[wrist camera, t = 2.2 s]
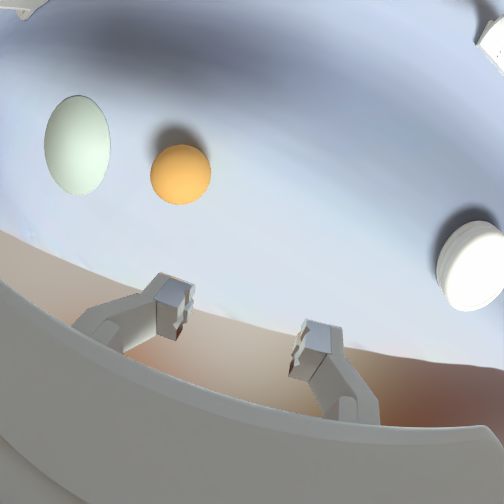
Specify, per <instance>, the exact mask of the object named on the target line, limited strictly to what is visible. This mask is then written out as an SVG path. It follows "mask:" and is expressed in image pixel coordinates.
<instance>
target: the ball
mask: <svg viewBox="0 0 504 504" xmlns="http://www.w3.org/2000/svg"><path fill="white" fill-rule="evenodd" d="M210 178H211V168H210V164H209V162H208V160H207V158H206V156H205V155H204V154H203V153H202V152H201V151H200V150H198V149H197V148H195V147H193V146H190V145H185V144H179V145H173V146H170V147H168V148H166V149H165V150H163V151H162V152H161V153H160V154H159V155H158V156H157V157H156V159H155V160H154V162H153V164H152V167H151V172H150V179H151V184H152V187H153V189H154V191H155V192H156V194H157V195H158V196H159V197H160V198H161V199H163V200H164V201H166V202H168V203H171V204H176V205H183V204H188V203H191V202H193V201H195V200H197V199H198V198H199V197H201V196H202V195H203V193H204V192H205V191H206V189H207V187H208V185H209V183H210Z"/></svg>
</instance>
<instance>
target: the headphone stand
mask: <svg viewBox="0 0 504 504" xmlns="http://www.w3.org/2000/svg"><path fill="white" fill-rule="evenodd" d="M476 46H477V48H478V49H479V50H480V51H481V52H482V53H483V54H484V55H485V56H486V57H487V58H488V59H489V60H490V62H491V63H492V64H493V65H494V66H495V67H496V68H497V70H498V71H499V72H500V73H501V74H502V76H503V77H504V14H503V15H502V16H500V17H499V18H498V19H497V20H496V21H495V22H494V21H493V20H489V21H488V23H487V25H486V27H485V29H484V31H483V33H482V35H481V37H480V38H479V40H478V42H477V44H476Z"/></svg>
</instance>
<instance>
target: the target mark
mask: <svg viewBox="0 0 504 504" xmlns="http://www.w3.org/2000/svg"><path fill="white" fill-rule="evenodd" d="M110 149H111V144H110V133H109V128H108V125H107V122H106V119H105V117H104V114H103V113H102V111H101V109H100V108H99V107H98V106H97V104H96V103H94V102H93V101H92V100H90V99H89V98H86V97H83V96H73V97H70V98H68V99H65V100H64V101H63V102H61V103H60V104H59V105H58V106H57V107H56V109H55V110H54V111H53V113H52V115H51V117H50V119H49V121H48V124H47V128H46V132H45V140H44V150H45V158H46V162H47V166H48V169H49V171H50V173H51V175H52V177H53V179H54V180H55V182H56V183H57V184H58V185H59V187H61V188H62V189H63V190H64V191H66V192H67V193H70V194H72V195H79V196H80V195H85V194H88V193H90V192H91V191H93V190H94V189H95V188H97V186H98V185H99V184H100V183H101V181H102V180H103V178H104V176H105V174H106V171H107V168H108V164H109V159H110Z"/></svg>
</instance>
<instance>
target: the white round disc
mask: <svg viewBox="0 0 504 504" xmlns="http://www.w3.org/2000/svg"><path fill="white" fill-rule="evenodd" d="M436 275H437V281H438V284H439V287H440V289H441V290H442V292H443V294H444V296H445V297H446V299H447V301H448V303H449V304H450V305H451V306H453V307H454V308H456V309H458V310H461V311H472V310H476V309H479V308H482V307H484V306H485V305H487V304H488V303H490V302H491V301H492V300H494V299H495V298H496V297H497V296H498V295H499V293H500V292H501V291H502V289H503V288H504V234H503V233H502V232H501V231H500V230H499V229H497V228H496V227H495V226H494V225H492V224H491V223H489V222H485V221H472V222H468V223H466V224H464V225H462V226H461V227H459V228H458V229H457V230H456V231H454V232H453V233H452V234H451V236H450V237H449V238H448V239H447V241H446V242H445V244H444V246H443V247H442V249H441V252H440V254H439V257H438V261H437V268H436Z"/></svg>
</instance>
